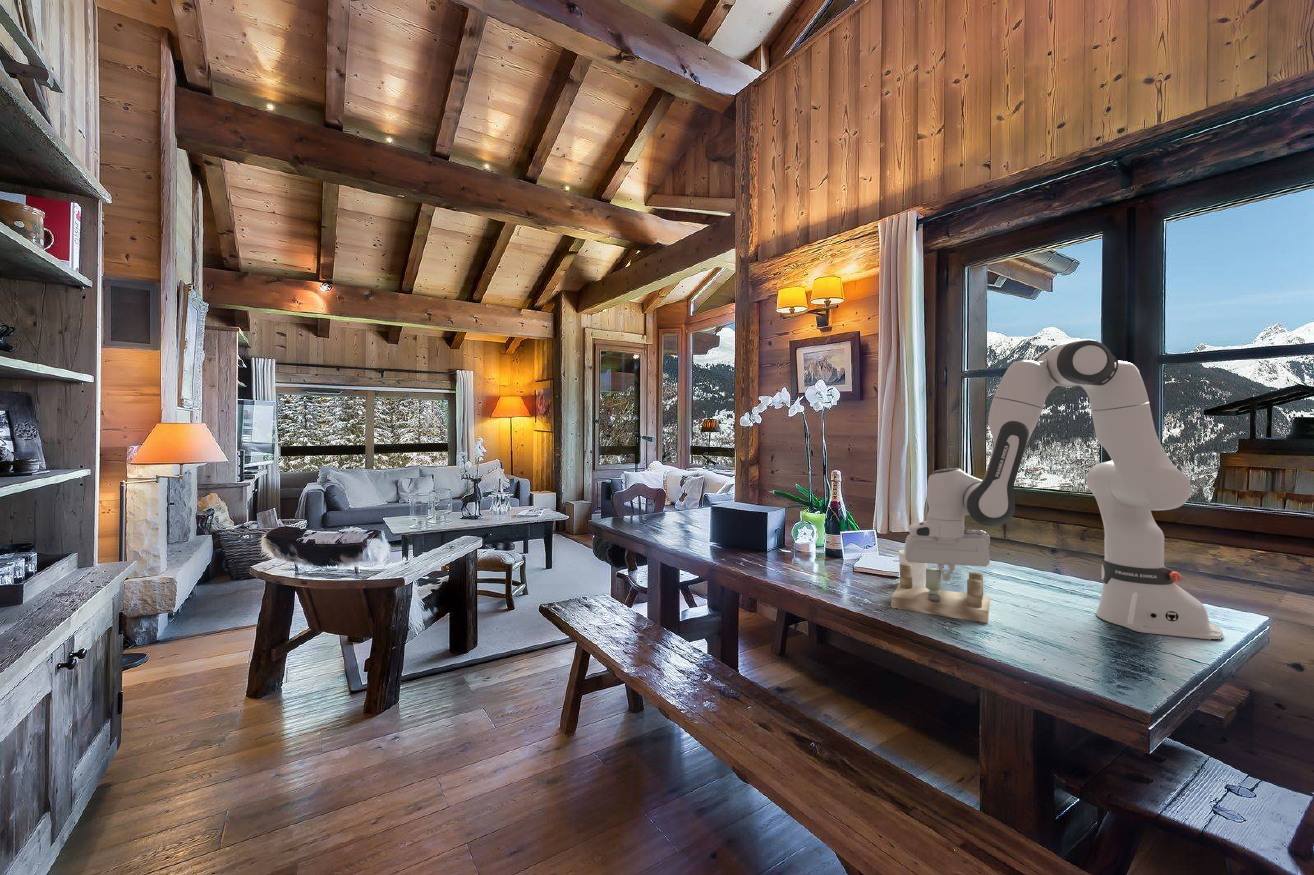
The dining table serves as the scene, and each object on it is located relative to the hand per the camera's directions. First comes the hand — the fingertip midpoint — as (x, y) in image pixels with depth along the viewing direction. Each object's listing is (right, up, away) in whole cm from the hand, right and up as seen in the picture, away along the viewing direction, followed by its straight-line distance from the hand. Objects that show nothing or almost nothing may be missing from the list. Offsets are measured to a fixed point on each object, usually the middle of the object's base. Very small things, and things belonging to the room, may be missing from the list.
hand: (945, 580), depth 148 cm
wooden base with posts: (-2, -7, -2) cm, 7 cm away
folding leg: (-4, -3, -2) cm, 6 cm away
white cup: (0, -7, +19) cm, 20 cm away
